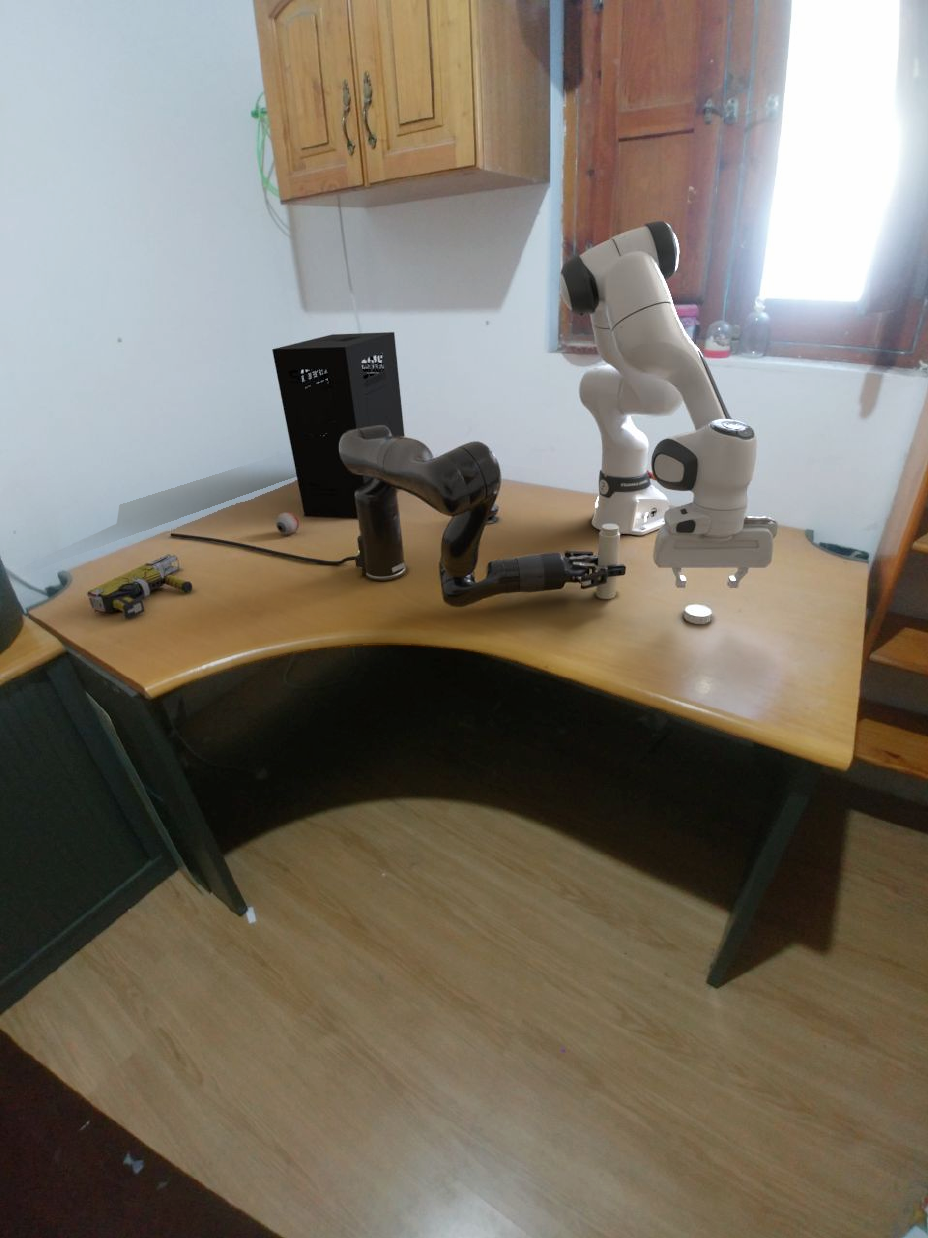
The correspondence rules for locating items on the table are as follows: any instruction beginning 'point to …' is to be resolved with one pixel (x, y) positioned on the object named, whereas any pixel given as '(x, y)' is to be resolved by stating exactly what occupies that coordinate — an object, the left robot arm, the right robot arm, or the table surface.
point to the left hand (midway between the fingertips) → (620, 564)
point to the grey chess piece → (493, 514)
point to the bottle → (608, 558)
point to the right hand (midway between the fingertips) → (706, 586)
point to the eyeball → (287, 523)
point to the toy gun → (136, 587)
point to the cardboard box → (335, 410)
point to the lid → (697, 614)
